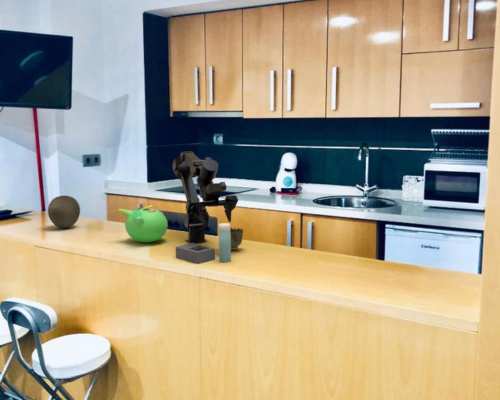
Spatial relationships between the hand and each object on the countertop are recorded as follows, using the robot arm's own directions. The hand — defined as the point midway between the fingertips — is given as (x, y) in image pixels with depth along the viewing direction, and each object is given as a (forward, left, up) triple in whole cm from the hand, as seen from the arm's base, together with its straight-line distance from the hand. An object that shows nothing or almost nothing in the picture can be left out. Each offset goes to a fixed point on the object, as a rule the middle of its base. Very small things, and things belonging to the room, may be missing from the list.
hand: (218, 222), depth 190 cm
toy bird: (-39, -4, -13) cm, 41 cm away
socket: (-4, -7, -12) cm, 15 cm away
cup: (-3, +10, -13) cm, 16 cm away
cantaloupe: (-89, -13, -13) cm, 91 cm away
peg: (+6, -2, -12) cm, 14 cm away
